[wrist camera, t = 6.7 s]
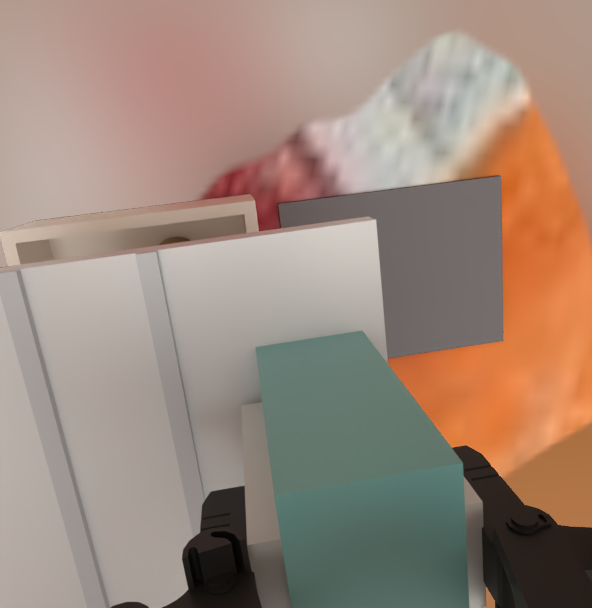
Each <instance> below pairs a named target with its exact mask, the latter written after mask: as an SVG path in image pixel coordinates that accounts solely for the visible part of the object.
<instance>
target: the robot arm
mask: <svg viewBox="0 0 592 608" xmlns="http://www.w3.org/2000/svg"><path fill="white" fill-rule="evenodd" d="M241 412H242V435H243V459H244V482H245V486H239V487H233V488H227V489H222V490H216V491H211V492H210V493H209V495H208V496H207V498H206V499H205V501H204V502H203V504H202V512H201V524H200V533H199V534H197V535H196V536H195V537H193V538H192V539H191V540H190V541H189V542H188V543H187V545H186V546H185V547H184V549H183V553H182V562H183V566H184V571H185V576H186V580H187V585H188V590H187V591H186V592H185V594H183V595H182V596H181V597H180V598H178V599H177V600H175V601H174V602H172V603H170V604H168V605H166V606H164V607H162V608H291V602H290V595H289V589H288V582H287V576H286V569H285V563H284V556H283V550H282V543H281V537H280V530H279V524H278V517H277V511H276V504H275V498H274V490H273V482H272V475H271V467H270V459H269V451H268V443H267V435H266V427H265V420H264V412H263V404H262V402H259V403H253V404H247V405H241ZM452 449H453V450H454V452H455V453H456V454H457V456H458V457H459V458H460V460H461V461H462V462H463V474H464V497H465V519H466V542H467V564H468V587H469V608H477V607H483V606H486V587H487V588H488V590H489V592H490V593H491V595H492V597H493V598H494V600H495V608H592V528H586V527H569V526H561V525H557V523H556V522H555V521H554V520H553V519H552V517H551V516H550V515H549V514H547V513H545V512H543V511H542V510H540V509H538V508H534V507H531V506H527V505H524V504H523V502H521V500H520V499H519V498H518V496H517V495H516V494H515V493H514V492H513V491H512V489H511V488H510V487H509V486H508V485H507V483H506V482H505V481H504V480H503V479H502V478H501V476H499V475H498V473H497V472H496V470H495V469H494V468H493V467H491V465H490V463H489V462H488V461H487V460H486V459H485V457H484V456H483V455H482V454H481V453H479V452H477V451H475V450H474V449H472V448H470V447H468V446H460V447H454V448H452ZM110 608H149V607H148V606H147V605H144V604H142V603H140V602H124V603H121V604H117V605H114V606H112V607H110Z"/></svg>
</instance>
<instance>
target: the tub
mask: <svg viewBox="0 0 592 608" xmlns="http://www.w3.org/2000/svg"><path fill="white" fill-rule="evenodd" d="M252 232H259V228H258V220H257V212H256V205H255V200H254V198H253V197H252V195H251V194H246V195H238V196H230V197H222V198H214V199H205V200H197V201H189V202H181V203H173V204H166V205H157V206H149V207H141V208H133V209H125V210H117V211H110V212H101V213H93V214H85V215H76V216H68V217H61V218H52V219H44V220H36V221H33V222H30V223H27V224H24V225H20V226H17V227H14V228H11V229H8V230H5V231H2V232H0V240H1V244H2V247H3V251H4V255H5V259H6V263H7V266H13V265H20V264H28V263H35V262H42V261H49V260H57V259H64V258H71V257H78V256H86V255H93V254H100V253H107V252H114V251H122V250H129V249H136V248H143V247H151V246H158V245H159V244H160V243H161V242H162V241H164V240H166V239H168V238H170V237H184V238H187V239H189V240H191V241H194V240H201V239H208V238H216V237H223V236H230V235H237V234H244V233H252Z"/></svg>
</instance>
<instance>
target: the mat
mask: <svg viewBox="0 0 592 608" xmlns="http://www.w3.org/2000/svg"><path fill="white" fill-rule="evenodd" d="M278 210H279V218H280V226H281V228H288V227H295V226H302V225H310V224H317V223H324V222H331V221H338V220H346V219H353V218H360V217H367V216H369V217H371V218H373V219H376V225H377V237H378V249H379V261H380V273H381V285H382V298H383V310H384V322H385V334H386V346H387V358H394V357H401V356H407V355H414V354H420V353H427V352H433V351H440V350H446V349H453V348H459V347H466V346H472V345H479V344H485V343H492V342H498V341H503V281H502V201H501V176H494V177H486V178H478V179H470V180H462V181H454V182H447V183H439V184H431V185H423V186H415V187H407V188H399V189H391V190H383V191H375V192H367V193H359V194H351V195H343V196H335V197H328V198H320V199H312V200H304V201H296V202H288V203H280V204H278Z"/></svg>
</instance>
